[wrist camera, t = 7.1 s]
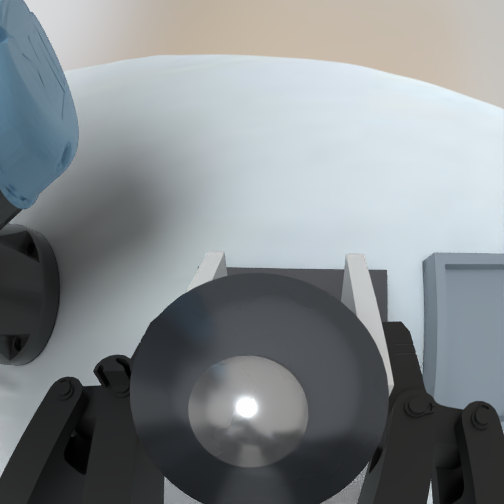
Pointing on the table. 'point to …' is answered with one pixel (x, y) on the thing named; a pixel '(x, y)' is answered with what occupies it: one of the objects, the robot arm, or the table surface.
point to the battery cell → (259, 392)
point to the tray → (464, 329)
